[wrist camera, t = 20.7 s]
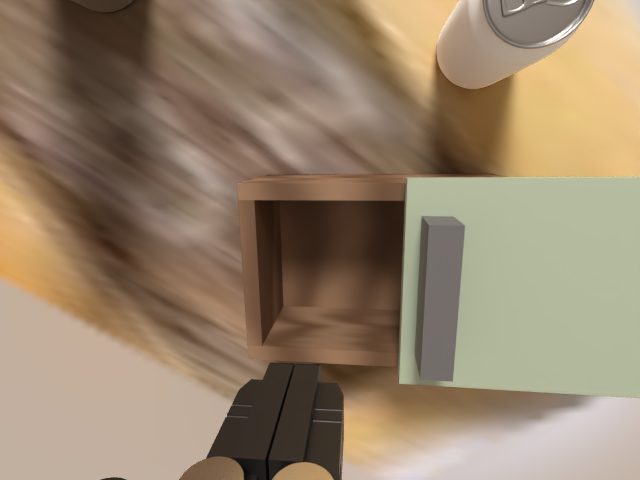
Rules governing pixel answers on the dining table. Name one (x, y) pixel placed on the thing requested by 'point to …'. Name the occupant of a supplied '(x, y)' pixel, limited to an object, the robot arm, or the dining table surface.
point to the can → (503, 37)
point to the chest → (324, 266)
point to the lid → (522, 284)
